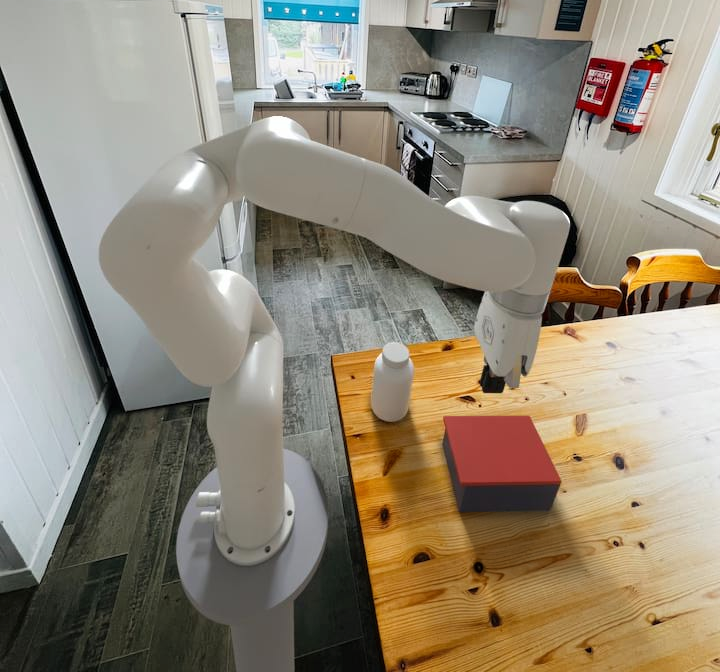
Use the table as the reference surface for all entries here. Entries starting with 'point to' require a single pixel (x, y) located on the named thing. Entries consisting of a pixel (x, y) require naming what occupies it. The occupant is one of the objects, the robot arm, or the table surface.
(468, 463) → the lunchbox lid
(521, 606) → the table surface
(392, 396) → the pill bottle
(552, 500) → the box
